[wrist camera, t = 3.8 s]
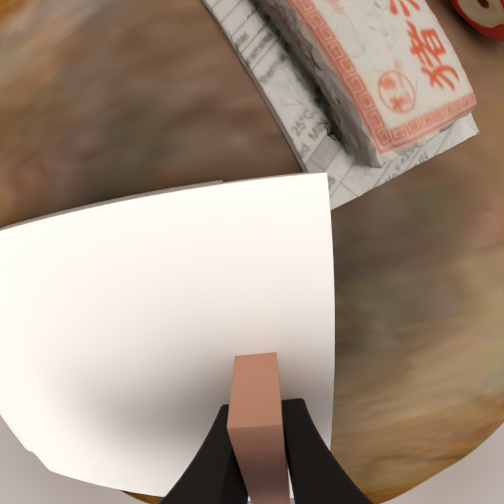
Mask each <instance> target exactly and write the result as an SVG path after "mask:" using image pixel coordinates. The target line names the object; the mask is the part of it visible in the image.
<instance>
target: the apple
mask: <svg viewBox="0 0 504 504" xmlns="http://www.w3.org/2000/svg"><path fill="white" fill-rule="evenodd" d="M450 1H451V3H452V5H453V7H454V9H455V10H456V11H457V13H458V14H459V15H460V16H461V17H462V18H464V19H465V20H466V21H467V22H468V23H469V24H470V25H471V26H472V27H473V28H474V29H476V30H477V31H478V32H479V33H481V34H483V35H485V36H487V37H490V38H494V39H498V40H502V41H504V0H450Z"/></svg>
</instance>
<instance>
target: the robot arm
mask: <svg viewBox="0 0 504 504" xmlns="http://www.w3.org/2000/svg"><path fill="white" fill-rule="evenodd" d="M281 403H282V418H283V428H284V437H285V445H286V454H287V463H288V469H289V475H290V480H291V485H292V491H293V496H294V498H290V502H291V504H373V503H372V502H371V501H370V500H369V499H368V498H367V497H366V496H365V495H364V494H363V493H362V492H361V491H360V489H359V488H358V487H357V486H356V485H355V484H354V483H353V482H352V480H351V479H350V478H349V477H348V475H347V474H346V473H345V472H344V470H343V469H342V468H341V466H340V465H339V464H338V462H337V461H336V459H335V458H334V456H333V455H332V454H331V452H330V450H329V449H328V447H327V446H326V444H325V442H324V441H323V439H322V438H321V436H320V434H319V432H318V430H317V429H316V427H315V425H314V423H313V421H312V419H311V416H310V414H309V412H308V409H307V406H306V403H305V400H304V399H302V398H296V399H287V400H281ZM228 413H229V404H223V405H222V406H221V407H220V410H219V412H218V414H217V416H216V419H215V421H214V423H213V425H212V427H211V429H210V431H209V433H208V435H207V436H206V438H205V440H204V442H203V443H202V445H201V447H200V449H199V450H198V452H197V454H196V455H195V457H194V458H193V460H192V461H191V463H190V464H189V466H188V467H187V469H186V470H185V472H184V473H183V474H182V476H181V477H180V479H179V480H178V481H177V482H176V484H175V485H174V486H173V488H172V489H171V490H170V491H169V492H168V493H167V495H166V496H165V497H164V498H163V499H162V500H161V501H160V502H159V503H158V504H252V503H251V501H248V497H249V494H248V491H247V489H246V486H245V483H244V480H243V477H242V474H241V471H240V468H239V465H238V462H237V459H236V456H235V453H234V450H233V446H232V443H231V440H230V437H229V434H228V430H227V422H228Z"/></svg>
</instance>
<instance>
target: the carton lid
mask: <svg viewBox="0 0 504 504" xmlns="http://www.w3.org/2000/svg"><path fill="white" fill-rule="evenodd" d="M334 359H335V304H334V269H333V247H332V230H331V215H330V202H329V190H328V179H327V172H323V171H318V172H307V173H297V174H287V175H278V176H269V177H260V178H252V179H244V180H237V181H230V182H222V183H215V184H209V185H202V186H196V187H189V188H183V189H177V190H171V191H166V192H160V193H154V194H149V195H144V196H138V197H133V198H128V199H123V200H118V201H113V202H109V203H104V204H99V205H95V206H90V207H86V208H81V209H77V210H73V211H69V212H64V213H60V214H56V215H52V216H48V217H44V218H40V219H37V220H33V221H29V222H25V223H22V224H18V225H15V226H11V227H8V228H4V229H1V230H0V407H1V408H2V410H3V411H4V413H5V414H6V416H7V417H8V419H9V420H10V422H11V423H12V424H13V426H14V427H15V429H16V430H17V431H18V433H19V434H20V435H21V437H22V438H23V439H24V440H25V442H26V443H27V444H28V446H29V447H30V448H31V449H32V451H33V452H34V453H35V454H36V455H37V457H38V458H39V459H40V460H41V461H42V462H43V464H44V465H45V466H46V467H47V468H48V469H49V470H50V471H53V472H55V473H59V474H62V475H65V476H68V477H71V478H75V479H79V480H82V481H86V482H90V483H93V484H97V485H101V486H106V487H110V488H114V489H119V490H124V491H130V492H135V493H141V494H147V495H154V496H162V497H165V496H166V495H167V493H168V492H169V491H170V490H171V489H172V488H173V486H174V485H175V484H176V482H177V481H178V480H179V479H180V477H181V476H182V474H183V473H184V472H185V470H186V469H187V467H188V466H189V464H190V463H191V461H192V460H193V458H194V457H195V455H196V454H197V452H198V450H199V449H200V447H201V445H202V443H203V442H204V440H205V438H206V436H207V435H208V433H209V431H210V429H211V427H212V425H213V423H214V421H215V419H216V416H217V414H218V412H219V410H220V407H221V406H222V405H223V404H229V413H228V422H227V430H228V434H229V437H230V440H231V443H232V446H233V450H234V453H235V456H236V459H237V462H238V465H239V468H240V471H241V474H242V477H243V480H244V483H245V486H246V489H247V491H248V494H249V497H248V501H251V503H252V504H291V502H290V498H294V496H293V491H292V485H291V480H290V475H289V469H288V463H287V454H286V445H285V437H284V428H283V418H282V403H281V400H287V399H296V398H302V399H304V400H305V403H306V406H307V409H308V412H309V414H310V416H311V419H312V421H313V423H314V425H315V427H316V429H317V430H318V432H319V434H320V436H321V438H322V439H323V441H324V442H325V444H326V446H327V447H328V449H329V450H330V444H331V431H332V414H333V393H334Z"/></svg>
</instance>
